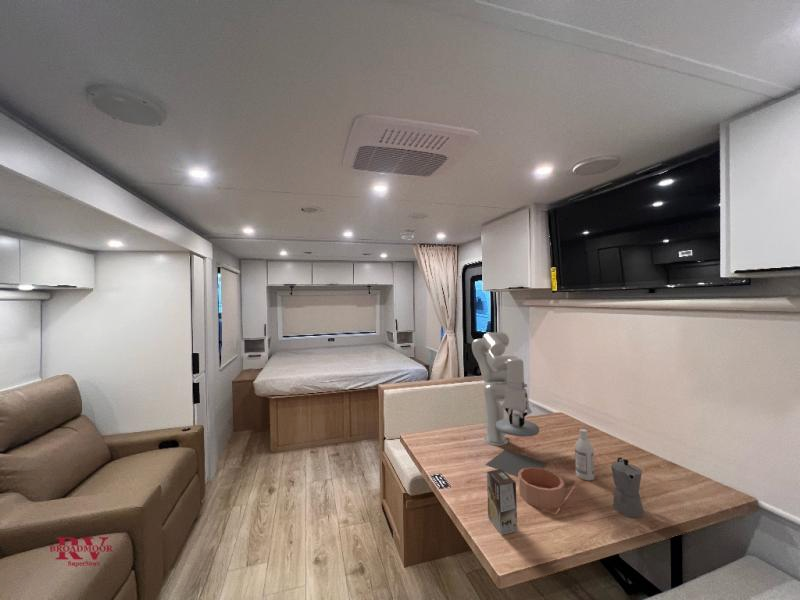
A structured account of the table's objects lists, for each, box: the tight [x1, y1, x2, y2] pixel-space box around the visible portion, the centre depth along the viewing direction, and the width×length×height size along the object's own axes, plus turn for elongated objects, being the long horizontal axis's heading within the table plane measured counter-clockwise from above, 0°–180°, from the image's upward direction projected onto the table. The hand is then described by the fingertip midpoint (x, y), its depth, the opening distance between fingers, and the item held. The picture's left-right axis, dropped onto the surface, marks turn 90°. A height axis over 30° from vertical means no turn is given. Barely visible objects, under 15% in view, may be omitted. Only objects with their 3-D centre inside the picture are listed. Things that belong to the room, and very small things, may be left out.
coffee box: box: [486, 469, 518, 536], centre depth 105 cm, size 9×6×16 cm
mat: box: [485, 449, 548, 478], centre depth 144 cm, size 21×21×1 cm
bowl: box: [517, 467, 566, 510], centre depth 120 cm, size 16×16×7 cm
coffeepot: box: [610, 457, 644, 519], centre depth 112 cm, size 15×9×18 cm, turn 159°
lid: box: [496, 413, 540, 438], centre depth 143 cm, size 19×19×6 cm
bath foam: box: [574, 428, 595, 481], centre depth 133 cm, size 7×7×20 cm
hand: (516, 424), depth 143 cm, fingers closed on lid, 4 cm apart
